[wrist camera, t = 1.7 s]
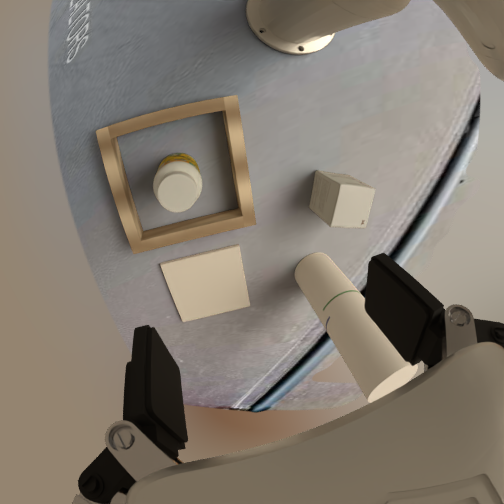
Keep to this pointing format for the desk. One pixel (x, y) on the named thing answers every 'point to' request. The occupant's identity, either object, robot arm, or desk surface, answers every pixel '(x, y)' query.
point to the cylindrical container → (352, 327)
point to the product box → (341, 200)
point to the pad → (207, 283)
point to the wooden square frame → (191, 227)
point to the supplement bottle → (177, 182)
